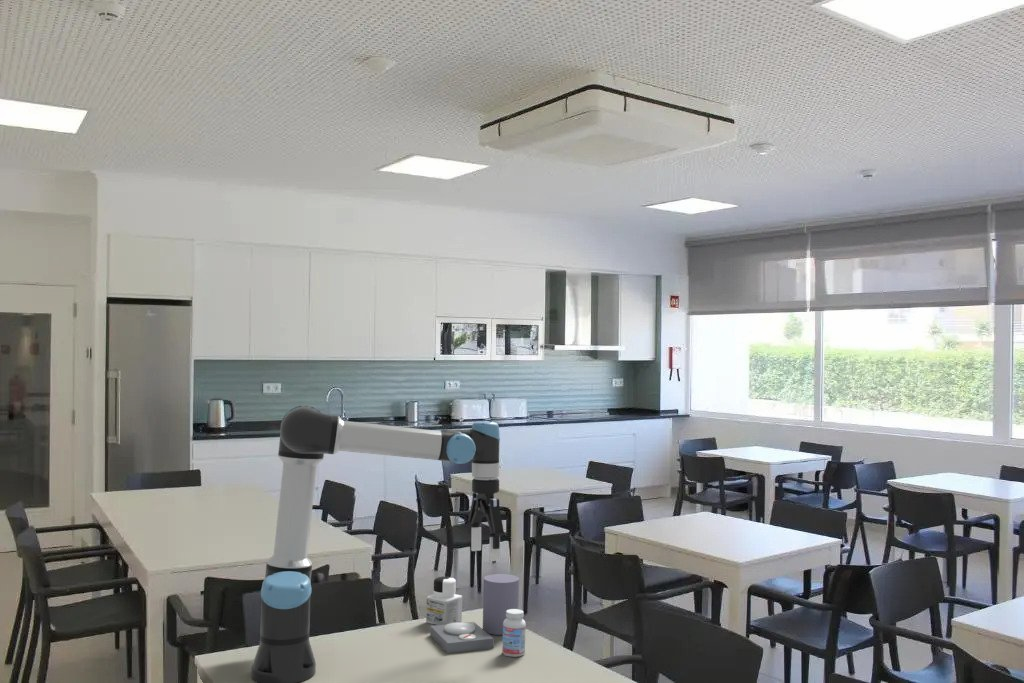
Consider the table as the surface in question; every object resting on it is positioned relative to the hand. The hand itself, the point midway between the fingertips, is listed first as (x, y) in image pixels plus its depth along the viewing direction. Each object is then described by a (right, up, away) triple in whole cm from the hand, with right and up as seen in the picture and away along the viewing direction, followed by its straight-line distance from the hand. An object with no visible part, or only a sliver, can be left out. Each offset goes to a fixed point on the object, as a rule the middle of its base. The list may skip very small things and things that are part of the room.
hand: (485, 555), depth 233 cm
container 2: (+4, -25, +12) cm, 28 cm away
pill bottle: (+8, -24, -8) cm, 27 cm away
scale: (-7, -24, +1) cm, 25 cm away
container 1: (-13, -25, +19) cm, 34 cm away
